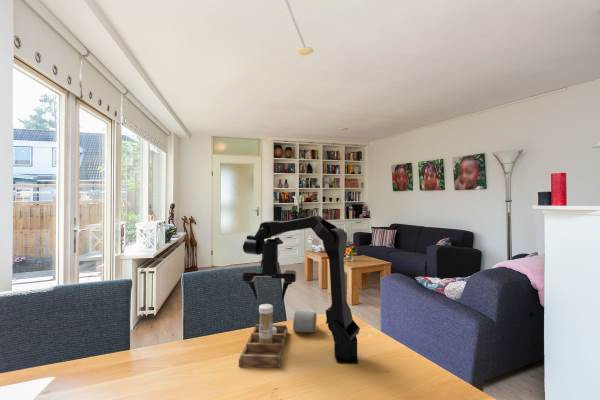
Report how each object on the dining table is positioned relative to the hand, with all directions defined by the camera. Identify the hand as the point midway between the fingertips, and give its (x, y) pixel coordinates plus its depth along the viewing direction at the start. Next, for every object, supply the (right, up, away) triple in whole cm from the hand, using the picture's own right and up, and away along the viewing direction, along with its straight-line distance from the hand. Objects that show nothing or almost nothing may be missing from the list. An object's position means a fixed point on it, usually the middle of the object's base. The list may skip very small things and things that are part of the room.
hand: (269, 299), depth 107 cm
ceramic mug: (+13, -13, +5) cm, 19 cm away
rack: (0, -13, -8) cm, 16 cm away
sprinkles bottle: (0, -13, -8) cm, 15 cm away
